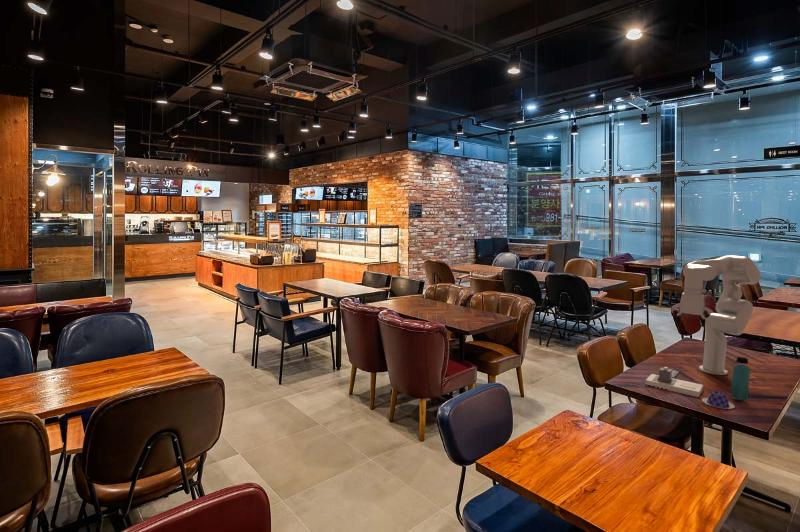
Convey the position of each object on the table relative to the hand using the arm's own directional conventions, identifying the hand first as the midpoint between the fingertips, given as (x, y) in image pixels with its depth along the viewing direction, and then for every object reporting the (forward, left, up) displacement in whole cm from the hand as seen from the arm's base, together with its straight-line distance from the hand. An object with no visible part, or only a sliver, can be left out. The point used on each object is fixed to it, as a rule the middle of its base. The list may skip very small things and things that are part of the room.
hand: (690, 324), depth 224 cm
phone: (-4, -8, -29) cm, 30 cm away
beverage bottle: (+15, +23, -29) cm, 39 cm away
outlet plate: (+17, -2, -29) cm, 33 cm away
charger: (+17, -6, -29) cm, 34 cm away
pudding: (+26, +16, -29) cm, 42 cm away
